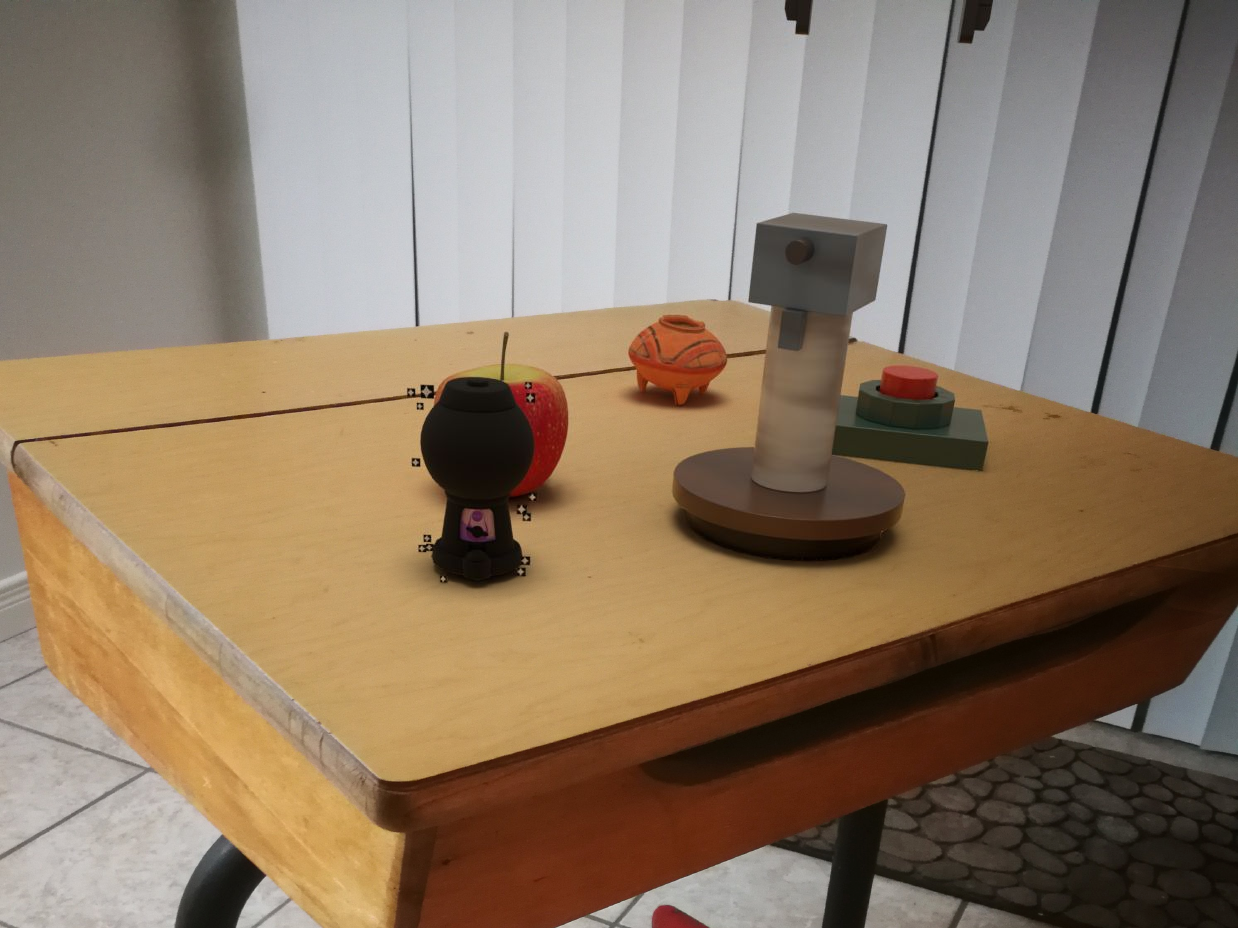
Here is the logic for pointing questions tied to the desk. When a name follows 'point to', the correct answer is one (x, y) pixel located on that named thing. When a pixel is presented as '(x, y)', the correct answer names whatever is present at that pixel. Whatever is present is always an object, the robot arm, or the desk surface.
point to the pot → (677, 356)
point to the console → (910, 429)
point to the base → (781, 543)
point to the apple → (531, 413)
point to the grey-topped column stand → (800, 394)
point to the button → (908, 382)
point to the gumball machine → (477, 473)
